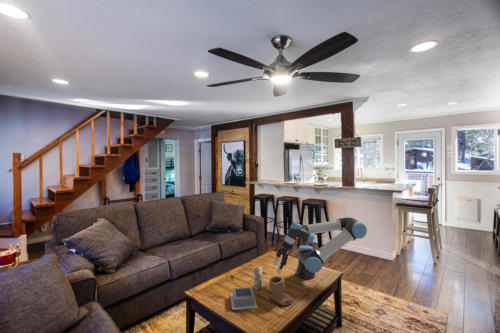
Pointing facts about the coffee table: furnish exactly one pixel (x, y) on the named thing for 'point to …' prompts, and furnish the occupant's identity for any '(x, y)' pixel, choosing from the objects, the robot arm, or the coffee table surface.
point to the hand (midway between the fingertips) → (276, 268)
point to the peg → (257, 278)
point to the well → (243, 298)
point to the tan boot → (279, 291)
